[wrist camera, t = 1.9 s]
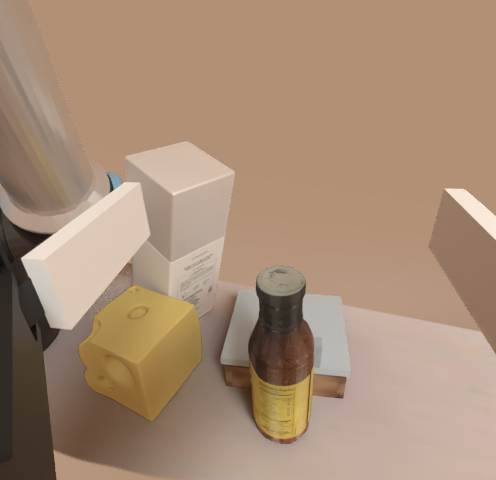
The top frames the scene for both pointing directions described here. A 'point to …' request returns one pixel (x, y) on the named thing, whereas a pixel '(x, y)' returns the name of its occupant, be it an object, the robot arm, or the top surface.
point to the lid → (318, 318)
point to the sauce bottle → (281, 356)
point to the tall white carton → (181, 221)
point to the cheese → (142, 349)
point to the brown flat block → (321, 383)
